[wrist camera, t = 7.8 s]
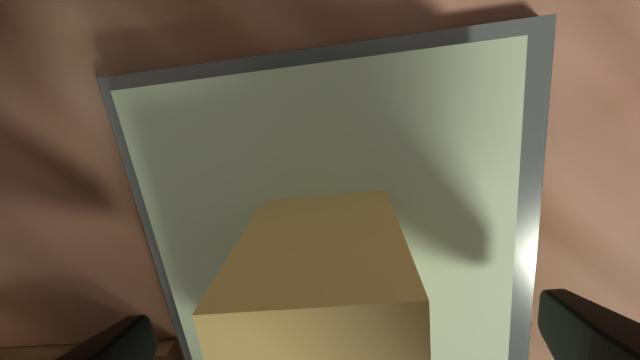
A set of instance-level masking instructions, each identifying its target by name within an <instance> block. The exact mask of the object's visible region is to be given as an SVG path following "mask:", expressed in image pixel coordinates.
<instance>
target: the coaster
mask: <svg viewBox="0 0 640 360" xmlns="http://www.w3.org/2000/svg"><path fill="white" fill-rule="evenodd" d="M555 26H556V14H551V15H544V16H536V17H529V18H522V19H515V20H508V21H501V22H494V23H486V24H479V25H472V26H465V27H458V28H451V29H443V30H436V31H429V32H422V33H415V34H408V35H401V36H393V37H386V38H379V39H372V40H365V41H358V42H351V43H343V44H336V45H329V46H322V47H315V48H308V49H301V50H293V51H286V52H279V53H272V54H265V55H258V56H251V57H243V58H236V59H229V60H222V61H215V62H208V63H201V64H193V65H186V66H179V67H172V68H165V69H158V70H151V71H143V72H136V73H129V74H122V75H115V76H108V77H101V78H97V82H98V85H99V88H100V91H101V94H102V98H103V101H104V104H105V107H106V110H107V113H108V117H109V120H110V123H111V126H112V129H113V133H114V136H115V139H116V142H117V145H118V149H119V152H120V155H121V158H122V161H123V164H124V168H125V171H126V174H127V177H128V180H129V184H130V187H131V190H132V193H133V196H134V199H135V203H136V206H137V209H138V212H139V215H140V219H141V222H142V225H143V228H144V231H145V235H146V238H147V241H148V244H149V247H150V250H151V254H152V257H153V260H154V263H155V266H156V270H157V273H158V276H159V279H160V282H161V285H162V289H163V292H164V295H165V298H166V301H167V305H168V308H169V311H170V314H171V317H172V321H173V324H174V327H175V330H176V333H177V336H178V340H179V343H180V346H181V349H182V352H183V356H184V359H185V360H192V357H191V354H190V351H189V347H188V344H187V341H186V338H185V334H184V331H183V328H182V324H181V321H180V318H179V315H178V311H177V308H176V305H175V301H174V298H173V295H172V291H171V288H170V285H169V282H168V278H167V275H166V272H165V268H164V265H163V262H162V259H161V255H160V252H159V249H158V245H157V242H156V239H155V236H154V232H153V229H152V226H151V222H150V219H149V216H148V213H147V209H146V206H145V203H144V199H143V196H142V193H141V190H140V186H139V183H138V180H137V176H136V173H135V170H134V167H133V163H132V160H131V157H130V153H129V150H128V147H127V144H126V140H125V137H124V134H123V130H122V127H121V124H120V121H119V117H118V114H117V111H116V107H115V104H114V101H113V98H112V94H111V91H114V90H121V89H129V88H136V87H144V86H151V85H159V84H166V83H173V82H181V81H188V80H196V79H203V78H211V77H218V76H226V75H233V74H241V73H248V72H255V71H263V70H270V69H278V68H285V67H293V66H300V65H308V64H315V63H323V62H330V61H337V60H345V59H352V58H360V57H367V56H375V55H382V54H390V53H397V52H405V51H412V50H420V49H427V48H434V47H442V46H449V45H457V44H464V43H472V42H479V41H487V40H494V39H502V38H509V37H516V36H524V35H528V40H527V56H526V73H525V89H524V106H523V122H522V139H521V155H520V172H519V188H518V205H517V221H516V238H515V254H514V271H513V287H512V304H511V321H510V337H509V354H508V360H528V354H529V342H530V330H531V318H532V306H533V294H534V281H535V269H536V257H537V245H538V233H539V221H540V208H541V196H542V184H543V172H544V160H545V148H546V135H547V123H548V111H549V99H550V87H551V75H552V62H553V50H554V38H555Z"/></svg>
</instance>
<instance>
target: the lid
mask: <svg viewBox="0 0 640 360" xmlns="http://www.w3.org/2000/svg"><path fill="white" fill-rule="evenodd" d="M527 40H528V35H524V36H516V37H509V38H502V39H494V40H487V41H479V42H472V43H464V44H457V45H449V46H442V47H434V48H427V49H420V50H412V51H405V52H397V53H390V54H382V55H375V56H367V57H360V58H352V59H345V60H337V61H330V62H323V63H315V64H308V65H300V66H293V67H285V68H278V69H270V70H263V71H255V72H248V73H241V74H233V75H226V76H218V77H211V78H203V79H196V80H188V81H181V82H173V83H166V84H159V85H151V86H144V87H136V88H129V89H121V90H114V91H111V94H112V98H113V101H114V104H115V107H116V111H117V114H118V117H119V121H120V124H121V127H122V130H123V134H124V137H125V140H126V144H127V147H128V150H129V153H130V157H131V160H132V163H133V167H134V170H135V173H136V176H137V180H138V183H139V186H140V190H141V193H142V196H143V199H144V203H145V206H146V209H147V213H148V216H149V219H150V222H151V226H152V229H153V232H154V236H155V239H156V242H157V245H158V249H159V252H160V255H161V259H162V262H163V265H164V268H165V272H166V275H167V278H168V282H169V285H170V288H171V291H172V295H173V298H174V301H175V305H176V308H177V311H178V315H179V318H180V321H181V324H182V328H183V331H184V334H185V338H186V341H187V344H188V347H189V351H190V354H191V357H192V360H508V354H509V337H510V321H511V304H512V287H513V271H514V254H515V238H516V221H517V205H518V188H519V172H520V155H521V139H522V122H523V106H524V89H525V73H526V56H527Z"/></svg>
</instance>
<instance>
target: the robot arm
mask: <svg viewBox="0 0 640 360" xmlns="http://www.w3.org/2000/svg"><path fill="white" fill-rule="evenodd" d="M538 327H539V330H540V333H541V335H542V337H543V339H544V341H545V342H546V344H547V346H548V348H549V350H550V352H551V354H552V356H553V358H554V359H555V360H640V323H638V322H636V321H634V320H632V319H629V318H627V317H625V316H623V315H621V314H618V313H616V312H614V311H612V310H610V309H607V308H605V307H603V306H601V305H598V304H596V303H594V302H592V301H590V300H587V299H585V298H583V297H581V296H579V295H576V294H574V293H572V292H570V291H568V290H565V289H547V290H543V291H542V292H541V294H540V300H539V311H538ZM156 351H157V340H156V337H155V334H154V331H153V328H152V325H151V322H150V319H149V318H148V316H146V315H132V316H128V317H126V318H124V319H122V320H121V321H119V322H117V323H116V324H114V325H112V326H111V327H109V328H107V329H105V330H104V331H102V332H100V333H99V334H97V335H95V336H94V337H92V338H90V339H89V340H87V341H85V342H84V343H82V344H80V345H79V346H77V347H75V348H73V349H72V350H70V351H68V352H67V353H65V354H63V355H62V356H60V357H58V358H57V359H55V360H153V359H154V357H155V354H156Z"/></svg>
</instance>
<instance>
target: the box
mask: <svg viewBox="0 0 640 360" xmlns="http://www.w3.org/2000/svg"><path fill="white" fill-rule="evenodd" d="M79 345H80V344H70V345H52V346H34V347H16V348H0V360H55V359H57V358H58V357H60V356H62V355H63V354H65V353H67V352H68V351H70V350H72V349H73V348H75V347H77V346H79ZM153 360H183V357H182V354H181V350H180V347H179V344H178V341H177V339H160V340H157V351H156V354H155V357H154V359H153Z"/></svg>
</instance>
